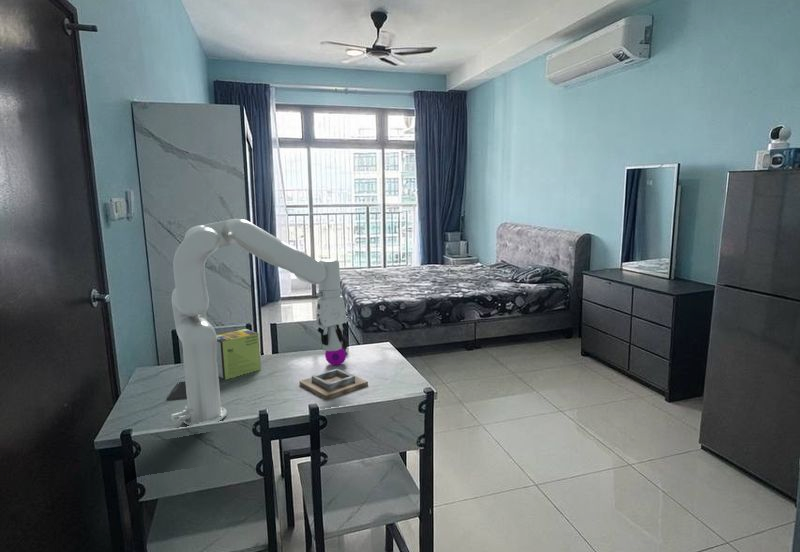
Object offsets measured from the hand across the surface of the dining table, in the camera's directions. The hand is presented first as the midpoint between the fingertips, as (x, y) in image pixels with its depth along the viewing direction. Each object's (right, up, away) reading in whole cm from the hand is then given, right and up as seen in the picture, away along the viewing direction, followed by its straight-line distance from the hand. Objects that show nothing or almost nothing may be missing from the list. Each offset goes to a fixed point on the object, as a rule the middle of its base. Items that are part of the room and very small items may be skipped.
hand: (331, 342), depth 166 cm
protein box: (-41, -15, +18) cm, 47 cm away
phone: (-54, -18, 0) cm, 57 cm away
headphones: (-2, -12, +32) cm, 34 cm away
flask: (0, -3, 0) cm, 3 cm away
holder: (0, -16, +2) cm, 16 cm away
